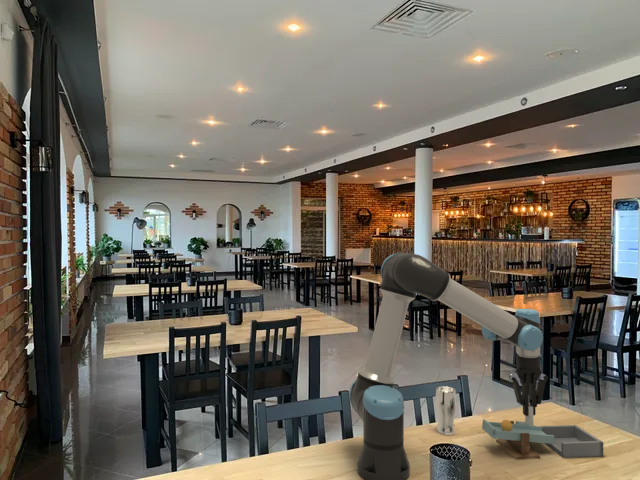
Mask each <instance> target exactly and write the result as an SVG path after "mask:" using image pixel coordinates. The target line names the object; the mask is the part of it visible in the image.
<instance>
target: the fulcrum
mask: <svg viewBox="0 0 640 480" xmlns="http://www.w3.org/2000/svg"><path fill="white" fill-rule="evenodd" d="M509 421H510V422H511V423H512V424H515V421H514V420H509ZM495 441H496V443H497V444H498V445H499V446H500V447H502V449H504V451H505V452H506V453H508V454H509V455H510V456H511V457H512V458H513V459H514V460H529V459H530V460H532V459H533V460H534V459H541V455H540V454H539V453H537V452H536V451H535V450H534V449H533V448H531V447H530V445H531V444H530V443H531V442H530V441H529V433H521V441H516V440H505V439H495Z"/></svg>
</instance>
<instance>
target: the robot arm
mask: <svg viewBox="0 0 640 480" xmlns="http://www.w3.org/2000/svg"><path fill="white" fill-rule="evenodd" d="M380 275H381V284H380V287H379V291H380V292H381V294H382V299H381V302H380V307H379V312H378V314H377V318H376V323H375V327H374V331H373V334H372V337H371V342H370V345H369V350H368V354H367V358H366V361H365V366H364V367H363V368H362V369H360V370H358V372H357V378H356V379H355V380H354V381H353V382H352V384H351V385H350V388H349V392H348V393H349V394H348V397H349V401H350V404H351V408H352V409H353V411H354V412H355V413H356V414H357V415H358V416H359V418H360V419H361V421H362V423H363V435H362V436H363V443H362V447H361V451H360V453H359V456H358V460H357V473H358V475H359V476H360V477H361V478H362V479H364V480H408V479H409V477H410V475H411V471H410V470H411V466H410V461H409V458H408V454H407V452H406V449H405V445H404V442H405V441H404V436H405V435H404V433H405V430H404V429H405V428H404V427H405V425H404V424H405V423H404V415H405V414H404V413H405V402H404V396H403V394H402V393H401V392H400V390H398V389H396V388H394V383H395V381H394V379H393V377H392V371H393V368H394V363H395V359H396V356H397V352H398V348H399V344H400V340H401V336H402V331H403V328H404V325H405V324H404V323H405V319H406V315H407V312H408V309H409V305H410V303H411V302H412V301H413V300H415V299H416V295H420V296H423V297H425V298H427V299H429V300H430V301H432V302H436V301H438V302H440V303H442V304H444V305H445V306H448V308H451V309H452V310H454V311H455V312H458V313H459V314H461V315H462V316H465V317H466V318H468V319H470V320H471V321H473V322H475V323H476V324H478V325H479V326H481V333H482V336H483V338H485V340H487V341H502V342H504V343H506V344H511V345H513V346H514V347H515V351H516V352H515V353H516V357H515V358H516V360H515V363H516V369H515V373H514V374H512V375H509V376H508V378H509V380H510V382H512V383H511V385H512V388H513V391H514V394H515V395H514V396H515V400H516V402H517V403H518V404H519V405H521V406H522V414H523V416H524V420H525V421H524V422H525V424H527V425H531V426H533V425H534V416H536V408H537V407H538V405H541V404H542V402H543V396H544V390H545V386H546V383H547V382H548V379H549V376H548V375H546V374H544V373H542V370H541V357H540V356H541V345H542V343H543V342H544V341H543V340H544V336H543V333H542V331H541V318H540V312H539V311H538V310H537V309H531V308H519V309H516V310H515V314H514V315H513V314H511V313H510V312H508V311H507V310H505V309H504V308H503V309H502V308H501V307H499V306H498V305H496V304H495V303H493V302H491V301H490V300H487V299H486V298H484V297H483V296H481V295H480V294H478V293H476V292H474V291H473V290H470V288H468V287H466V286H464V285H462V284H460V283H459V282H457V281H456V280H454V279H452V278H451V274H450V273H449V272H447V271H446V270H444V269H443V268H441V267H440V266H438V265H436V264H435V263H434V262H432V261H430V260H429V259H427V258H426V257H424V256H422V255H419V254H416V253H407V252H397V253H393V254H391V255H389V256H388V257H386V258H385V259H384V260H383V262H382V265H381V268H380ZM519 380H520V382H519ZM519 383H520V384H519ZM520 385H521V386H520ZM520 387H521V388H520Z"/></svg>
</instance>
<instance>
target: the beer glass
mask: <svg viewBox="0 0 640 480" xmlns="http://www.w3.org/2000/svg"><path fill="white" fill-rule="evenodd" d="M435 389H436V391H435V408H436V415H437V427H436V432H437V433H439V434H440V435H444V436H453V435H454V434H455V433H456V432H455V426H454V425H455V424H454V419H455V414H456V409H457V392H456V389H455V388H454V387H451V386H445V385H444V386H443V385H442V386H437V387H436V388H435Z"/></svg>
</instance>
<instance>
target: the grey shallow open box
mask: <svg viewBox="0 0 640 480" xmlns="http://www.w3.org/2000/svg"><path fill="white" fill-rule="evenodd" d="M540 426H541V427H542V431H543V432H544V433H545V434H547V435H553V436H555V437H554V444H550V443H543V444H544V445H545V446H546V447H548V448H549V449H551V450H552V451H554V452H555V453H556V454H557V455H559V456H560V457H561V458H563V459H576V458H579V459H580V458H600V457H601V458H602V457H604V441H603V440H600V439H599V438H597V437H596V436H594V435H593V434H591V433H589V432H588V431H586V430H585V429H584V428H581V427H580V426H579V425H577V424H563V425H559V424H558V425H557V424H556V425H540Z"/></svg>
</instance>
